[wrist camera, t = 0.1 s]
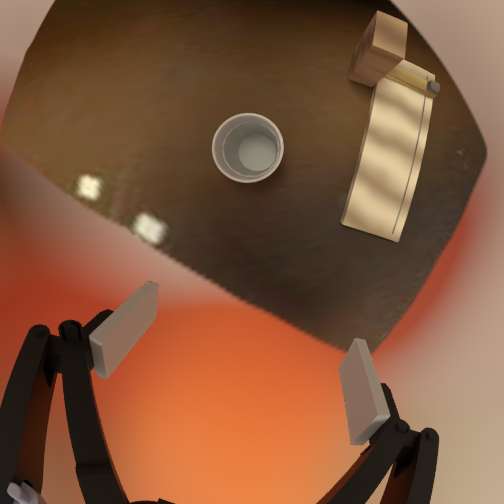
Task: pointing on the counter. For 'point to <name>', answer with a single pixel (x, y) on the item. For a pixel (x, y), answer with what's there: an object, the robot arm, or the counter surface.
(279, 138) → the cup
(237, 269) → the counter surface
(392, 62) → the gauge
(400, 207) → the board
